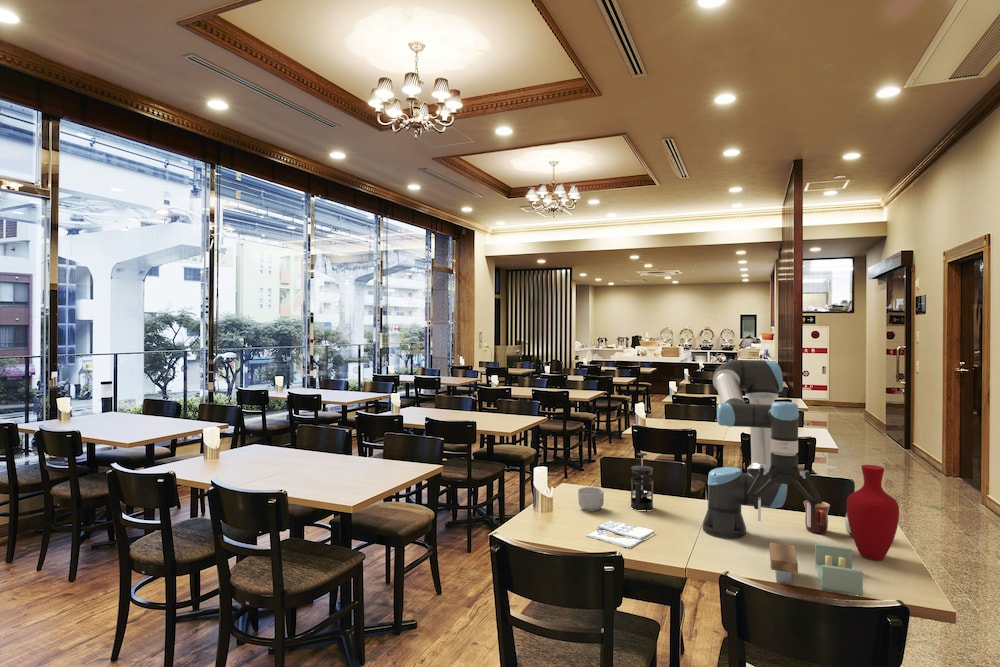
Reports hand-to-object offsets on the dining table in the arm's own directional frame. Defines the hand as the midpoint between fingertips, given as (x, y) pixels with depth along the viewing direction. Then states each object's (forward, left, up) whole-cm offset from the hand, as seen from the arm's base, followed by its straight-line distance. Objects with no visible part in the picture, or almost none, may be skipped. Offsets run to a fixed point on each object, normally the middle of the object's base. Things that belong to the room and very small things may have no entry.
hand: (783, 522), depth 179 cm
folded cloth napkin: (-53, +16, -17) cm, 58 cm away
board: (0, 0, -12) cm, 12 cm away
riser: (0, 0, -17) cm, 17 cm away
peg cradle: (+15, +4, -17) cm, 23 cm away
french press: (-51, +51, -17) cm, 74 cm away
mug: (+14, +48, -17) cm, 53 cm away
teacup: (-71, +43, -17) cm, 85 cm away
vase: (+28, +29, -17) cm, 44 cm away
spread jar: (+29, +51, -17) cm, 61 cm away
